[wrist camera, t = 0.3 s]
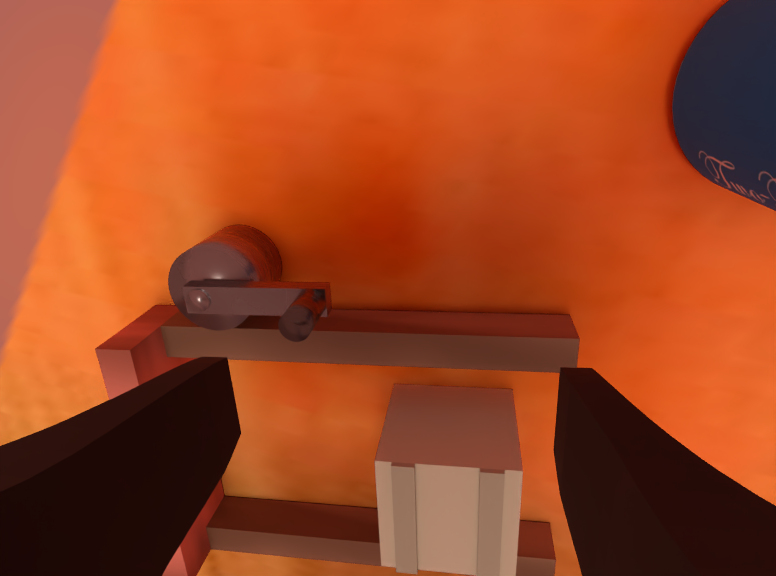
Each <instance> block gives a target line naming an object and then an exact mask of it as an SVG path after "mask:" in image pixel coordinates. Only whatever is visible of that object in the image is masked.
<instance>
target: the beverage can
mask: <svg viewBox="0 0 776 576" xmlns="http://www.w3.org/2000/svg"><path fill="white" fill-rule="evenodd" d="M672 112H673V123H674V128H675V133H676V136H677V139H678V142H679V144H680V147H681V149H682V150H683V152H684V154H685V156H686V158H687V159H688V160H689V161H690V163H691V164H692V165H693V167H694V168H695V169H696V170H698V171H699V172H700V173H701V174H702V175H703V176H704V177H706V178H707V179H709V180H710V181H712V182H713V183H715V184H717V185H719V186H721V187H724V188H726V189H728V190H730V191H732V192H735V193H737V194H739V195H741V196H744V197H746V198H748V199H750V200H753V201H755V202H757V203H759V204H762V205H764V206H766V207H768V208H771V209H773V210H775V211H776V0H729V1H728V2H726V3H725V4H724V5H723V6H722V7H721V8H720V9H719V10H718V11H717V12H716V13H715V14H714V15H713V16H712V17H711V18H710V19H709V20H708V21H707V23H706V24H705V25H704V26H703V28H702V29H701V30H700V32H699V33H698V34H697V36H696V37H695V39H694V41H693V42H692V44H691V45H690V47H689V49H688V51H687V53H686V55H685V57H684V59H683V61H682V63H681V66H680V69H679V72H678V75H677V78H676V83H675V87H674V92H673V104H672Z"/></svg>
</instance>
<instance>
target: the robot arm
mask: <svg viewBox="0 0 776 576" xmlns="http://www.w3.org/2000/svg"><path fill="white" fill-rule="evenodd" d="M240 435H241V430H240V424H239V419H238V413H237V408H236V403H235V397H234V392H233V386H232V381H231V376H230V370H229V365H228V360H227V357H199V358H196V359H194V360H191V361H189V362H186V363H184V364H182V365H180V366H177V367H175V368H173V369H171V370H169V371H167V372H165V373H163V374H161V375H159V376H157V377H155V378H153V379H151V380H149V381H147V382H145V383H143V384H141V385H139V386H137V387H135V388H133V389H131V390H129V391H127V392H125V393H123V394H121V395H119V396H117V397H115V398H113V399H110V400H108V401H106V402H104V403H102V404H100V405H97V406H95V407H93V408H91V409H89V410H87V411H85V412H82V413H80V414H78V415H76V416H74V417H72V418H69V419H67V420H65V421H63V422H60V423H58V424H56V425H53V426H51V427H48V428H46V429H44V430H41V431H39V432H36V433H34V434H31V435H28V436H26V437H23V438H20V439H18V440H15V441H13V442H10V443H7V444H5V445H2V446H0V576H162V575H163V573H164V571H165V569H166V568H167V566H168V564H169V562H170V561H171V559H172V557H173V556H174V554H175V553H176V551H177V549H178V548H179V546H180V544H181V543H182V541H183V540H184V538H185V536H186V535H187V533H188V531H189V530H190V528H191V527H192V525H193V523H194V522H195V520H196V518H197V517H198V515H199V514H200V512H201V510H202V509H203V507H204V506H205V504H206V502H207V501H208V499H209V497H210V496H211V494H212V492H213V491H214V489H215V487H216V486H217V484H218V482H219V481H220V479H221V477H222V475H223V474H224V472H225V470H226V468H227V465H228V463H229V461H230V459H231V457H232V454H233V452H234V449H235V447H236V445H237V442H238V440H239V437H240ZM554 456H555V463H556V471H557V478H558V484H559V491H560V496H561V500H562V504H563V507H564V511H565V515H566V518H567V522H568V526H569V529H570V533H571V537H572V540H573V544H574V547H575V551H576V554H577V558H578V562H579V565H580V569H581V572H582V576H776V506H775V505H773V504H771V503H770V502H768V501H766V500H765V499H763V498H761V497H759V496H758V495H756V494H754V493H753V492H751V491H750V490H748V489H747V488H745V487H743V486H742V485H740V484H739V483H737V482H736V481H734V480H732V479H731V478H729V477H728V476H726V475H725V474H723V473H722V472H720V471H718V470H717V469H715V468H714V467H713V466H711V465H710V464H708V463H707V462H705V461H704V460H702V459H701V458H700V457H698V456H697V455H696V454H694V453H693V452H692V451H690V450H689V449H688V448H686V447H685V446H684V445H682V444H681V443H679V442H678V441H677V440H675V439H674V438H673V437H672V436H670V435H669V434H668V433H666V432H665V431H664V430H663V429H661V428H660V427H659V426H658V425H657V424H655V423H654V422H653V421H652V420H650V419H649V418H648V417H647V416H646V415H645V414H643V413H642V412H641V411H640V410H639V409H637V408H636V407H635V406H634V405H633V404H632V403H631V402H629V401H628V400H627V399H626V398H625V397H624V396H623V395H622V394H620V393H619V392H618V391H617V390H616V389H615V388H614V387H613V386H612V385H610V384H609V383H608V382H607V381H606V380H605V379H604V378H603V377H602V376H601V375H599V374H598V373H597V372H596V371H595V370H593V369H592V368H568V367H560V377H559V390H558V402H557V415H556V427H555V439H554Z"/></svg>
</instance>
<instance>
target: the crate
mask: <svg viewBox="0 0 776 576" xmlns="http://www.w3.org/2000/svg"><path fill="white" fill-rule="evenodd" d="M375 475H376V491H377V507H378V522H379V538H380V553H381V566H386V567H396V572H400V573H409V574H417V572H418V570H426V571H436V572H446V573H456V574H466V575H476V576H516V564H517V550H518V535H519V521H520V506H521V492H522V477H523V468H522V460H521V452H520V444H519V437H518V429H517V421H516V413H515V405H514V397H513V390H512V389H498V388H476V387H454V386H432V385H410V384H394V386H393V390H392V394H391V398H390V402H389V406H388V410H387V414H386V418H385V422H384V426H383V430H382V434H381V438H380V442H379V445H378V449H377V453H376V457H375Z"/></svg>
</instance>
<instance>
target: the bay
mask: <svg viewBox="0 0 776 576" xmlns="http://www.w3.org/2000/svg"><path fill="white" fill-rule="evenodd" d="M280 318H281V316H269V315H249V316H248V317H247V318H246V319H245V320H244V321H243V322H242V323H241V324H240V325H238V326H236V327H234V328H232V329H228V330H220V331H217V330H210V329H206V328H203V327H200V326H198V325H196V324H195V323H193V322H191V321H190V320H189V319H187V318H186V317H185V316H184V315H183V314H182V313H181V312H180V311H179V309H178V308H177V306H176V305H155V306H154V307H152V308H151V309H150V310H148V311H147V312H145V313H144V314H143V315H141V316H140V317H139V318H137V319H136V320H134V321H133V322H132V323H130V324H129V325H128V326H126V327H125V328H123V329H122V330H121V331H119V332H118V333H117V334H115V335H114V336H112V337H111V338H110V339H108V340H107V341H106V342H104V343H103V344H101V345H100V346H99V347H97V348H96V349H95V350H96V354H97V357H98V361H99V364H100V368H101V371H102V375H103V378H104V382H105V386H106V389H107V393H108V396H109V400H110V399H113V398H115V397H117V396H119V395H121V394H123V393H125V392H127V391H129V390H131V389H133V388H135V387H137V386H139V385H141V384H143V383H145V382H147V381H149V380H151V379H153V378H155V377H157V376H159V375H161V374H163V373H165V372H167V371H169V370H171V369H173V368H175V367H177V366H180V365H182V364H184V363H186V362H189V361H191V360H194V359H196V358H199V357H227V359H231V360H256V361H281V362H306V363H330V364H355V365H380V366H405V367H430V368H455V369H480V370H505V371H530V372H555V373H560V367H568V368H577V359H578V349H579V340H580V339H579V336H578V334H577V331H576V329H575V326H574V324H573V321H572V319H571V316H570V315H555V314H513V313H471V312H428V311H386V310H344V309H332V310H331V312H330V314H329V315H328V317H320V319H319V320H318V322H317V324H316V325H315V327H314V328H313V330H312V331H311V333H310V335H309V336H308V338H306V339H305V340H303V341H301V342H293V341H290V340H288V339H286V338H285V337H284V336H283V335H282V334H281V332H280V330H279V327H278V323H279V319H280ZM211 549H215V550H225V551H235V552H245V553H255V554H265V555H275V556H285V557H295V558H305V559H315V560H325V561H335V562H345V563H355V564H365V565H375V566H381V553H380V538H379V522H378V509H375V508H363V507H350V506H338V505H326V504H314V503H302V502H290V501H278V500H266V499H254V498H242V497H230V496H224V492H223V487H222V482H221V479H220V481H219V482H218V484H217V486H216V487H215V489H214V491H213V492H212V494H211V496H210V497H209V499H208V501H207V502H206V504H205V506H204V507H203V509H202V510H201V512H200V514H199V515H198V517H197V518H196V520H195V522H194V523H193V525H192V527H191V528H190V530H189V531H188V533H187V535H186V536H185V538H184V540H183V541H182V543H181V544H180V546H179V548H178V549H177V551H176V553H175V554H174V556H173V557H172V559H171V561H170V562H169V564H168V566H167V568H166V569H165V571H164V573H163V575H162V576H196V575H197V573H198V572H199V570H200V568H201V566H202V564H203V563H204V561H205V559H206V557H207V555H208V553H209V552H210V550H211ZM555 564H556V557H555V551H554V546H553V540H552V534H551V528H550V523H544V522H531V521H519V535H518V550H517V564H516V576H554V574H555ZM385 567H386V566H385ZM395 568H396V567H395ZM425 571H426V570H425ZM435 572H436V571H435ZM445 573H446V572H445ZM455 574H456V573H455ZM465 575H466V574H465ZM475 576H476V575H475Z"/></svg>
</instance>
